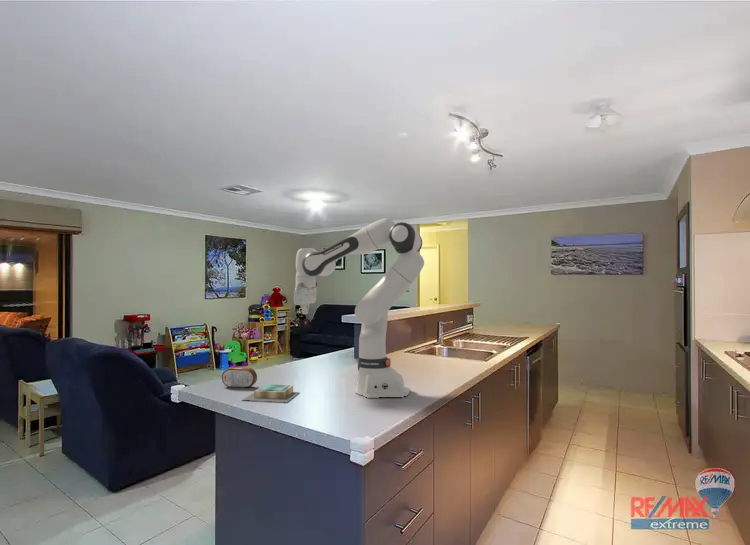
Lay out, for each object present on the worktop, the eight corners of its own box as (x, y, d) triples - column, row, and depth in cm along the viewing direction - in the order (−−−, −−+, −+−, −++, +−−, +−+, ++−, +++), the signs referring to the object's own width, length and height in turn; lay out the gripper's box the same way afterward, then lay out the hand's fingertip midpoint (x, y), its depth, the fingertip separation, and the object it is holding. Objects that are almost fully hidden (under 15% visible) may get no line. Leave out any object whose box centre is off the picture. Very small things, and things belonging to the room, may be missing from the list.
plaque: (293, 384, 152) (283, 391, 143) (292, 391, 152) (283, 398, 142) (265, 383, 154) (254, 390, 144) (265, 390, 154) (253, 397, 144)
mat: (299, 393, 151) (299, 392, 151) (287, 403, 138) (287, 402, 138) (257, 391, 154) (257, 390, 154) (241, 400, 141) (241, 399, 141)
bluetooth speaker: (257, 386, 161) (257, 367, 162) (254, 388, 158) (254, 368, 158) (224, 385, 163) (224, 366, 163) (220, 387, 160) (220, 367, 160)
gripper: (304, 283, 157) (304, 315, 157) (318, 283, 178) (318, 312, 177) (290, 283, 158) (289, 315, 158) (306, 283, 179) (306, 312, 178)
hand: (305, 314), depth 168 cm, fingers closed
